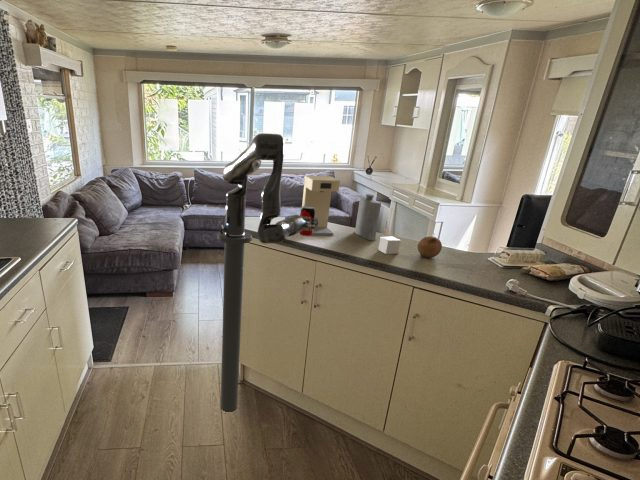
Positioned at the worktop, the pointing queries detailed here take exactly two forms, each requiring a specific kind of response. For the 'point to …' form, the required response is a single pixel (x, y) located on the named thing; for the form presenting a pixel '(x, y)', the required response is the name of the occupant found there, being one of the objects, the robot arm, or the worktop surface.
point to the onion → (429, 246)
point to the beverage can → (307, 213)
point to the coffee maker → (320, 199)
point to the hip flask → (367, 217)
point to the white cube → (389, 245)
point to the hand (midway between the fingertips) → (309, 218)
